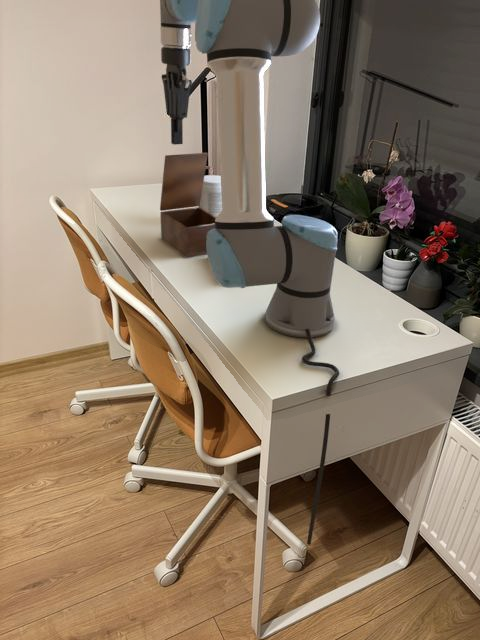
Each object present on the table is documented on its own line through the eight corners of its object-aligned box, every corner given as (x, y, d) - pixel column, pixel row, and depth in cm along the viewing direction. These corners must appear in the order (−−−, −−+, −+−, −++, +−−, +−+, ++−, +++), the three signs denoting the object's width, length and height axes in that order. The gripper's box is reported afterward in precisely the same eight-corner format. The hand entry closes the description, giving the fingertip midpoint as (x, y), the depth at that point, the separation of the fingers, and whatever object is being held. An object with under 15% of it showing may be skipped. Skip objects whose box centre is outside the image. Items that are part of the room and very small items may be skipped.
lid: (207, 153, 153) (206, 152, 153) (166, 156, 146) (165, 155, 147) (199, 206, 164) (198, 204, 164) (160, 210, 157) (159, 209, 158)
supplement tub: (233, 224, 178) (235, 178, 171) (220, 232, 171) (221, 184, 163) (206, 218, 181) (207, 173, 174) (192, 226, 174) (192, 179, 166)
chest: (225, 250, 158) (226, 222, 153) (185, 257, 151) (185, 228, 147) (199, 233, 168) (199, 206, 164) (161, 239, 162) (160, 211, 158)
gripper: (201, 49, 138) (200, 147, 150) (177, 45, 147) (178, 138, 159) (174, 48, 134) (175, 149, 147) (151, 44, 143) (154, 139, 155)
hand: (176, 143), depth 153 cm, fingers closed
